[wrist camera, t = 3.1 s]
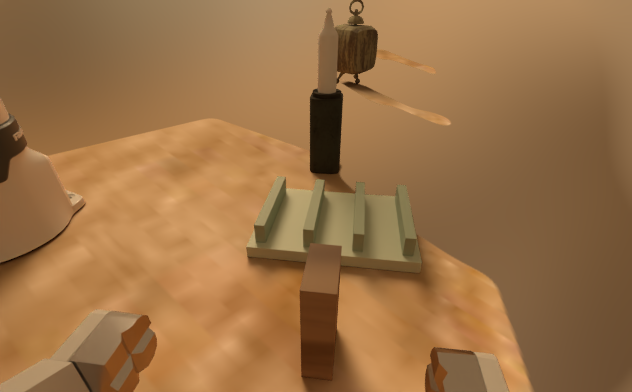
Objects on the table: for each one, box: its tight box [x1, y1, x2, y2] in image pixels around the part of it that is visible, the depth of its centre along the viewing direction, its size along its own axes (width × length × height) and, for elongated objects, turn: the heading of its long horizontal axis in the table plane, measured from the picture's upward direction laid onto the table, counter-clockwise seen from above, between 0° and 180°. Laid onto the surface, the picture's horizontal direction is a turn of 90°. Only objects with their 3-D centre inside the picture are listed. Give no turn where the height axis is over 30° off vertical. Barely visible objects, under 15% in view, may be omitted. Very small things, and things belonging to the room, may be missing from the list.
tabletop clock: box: [335, 0, 378, 84], centre depth 110 cm, size 14×9×25 cm, turn 137°
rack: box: [246, 176, 422, 273], centre depth 44 cm, size 14×20×4 cm
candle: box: [310, 8, 343, 174], centre depth 54 cm, size 5×5×25 cm
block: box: [300, 243, 342, 380], centre depth 27 cm, size 5×2×10 cm, turn 173°
